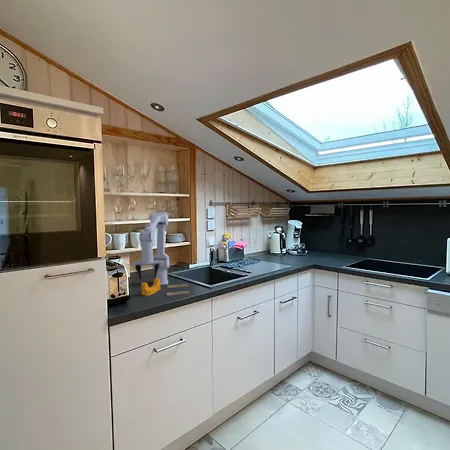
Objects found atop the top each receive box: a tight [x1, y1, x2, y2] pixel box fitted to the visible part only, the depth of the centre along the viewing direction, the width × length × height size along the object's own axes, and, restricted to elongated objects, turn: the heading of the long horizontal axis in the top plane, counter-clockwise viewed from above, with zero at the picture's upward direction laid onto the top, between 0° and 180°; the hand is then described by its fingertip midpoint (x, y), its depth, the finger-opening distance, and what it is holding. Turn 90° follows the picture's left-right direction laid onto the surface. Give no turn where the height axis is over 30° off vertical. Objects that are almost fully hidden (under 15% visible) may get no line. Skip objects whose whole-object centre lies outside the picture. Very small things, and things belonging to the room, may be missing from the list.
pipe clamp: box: [141, 278, 161, 297], centre depth 168 cm, size 12×4×6 cm, turn 150°
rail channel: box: [166, 283, 190, 296], centre depth 171 cm, size 16×12×1 cm
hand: (148, 278), depth 162 cm, fingers open, 7 cm apart
